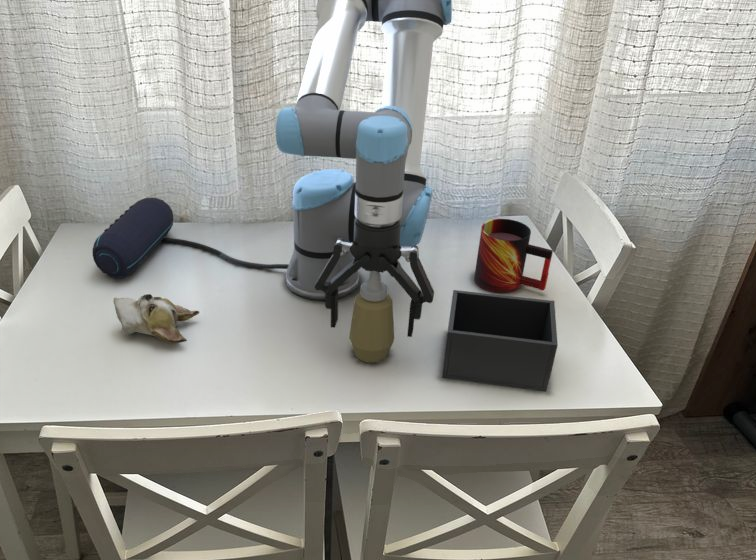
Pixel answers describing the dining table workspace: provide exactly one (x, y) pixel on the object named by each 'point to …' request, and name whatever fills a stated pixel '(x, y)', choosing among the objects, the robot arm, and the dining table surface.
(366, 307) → the squeeze bottle
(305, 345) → the dining table surface
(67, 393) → the dining table surface
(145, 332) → the ceramic sculpture
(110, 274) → the portable speaker
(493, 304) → the bin
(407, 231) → the robot arm
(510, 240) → the mug
